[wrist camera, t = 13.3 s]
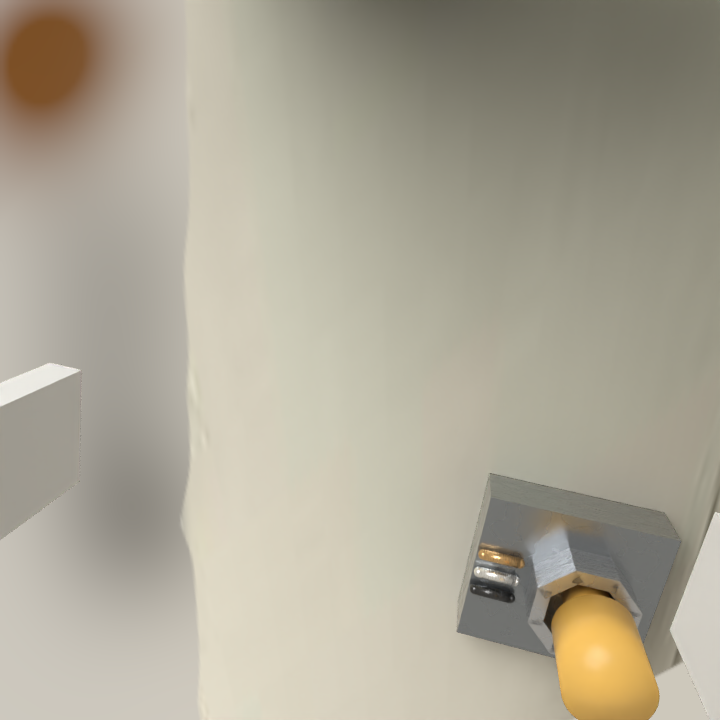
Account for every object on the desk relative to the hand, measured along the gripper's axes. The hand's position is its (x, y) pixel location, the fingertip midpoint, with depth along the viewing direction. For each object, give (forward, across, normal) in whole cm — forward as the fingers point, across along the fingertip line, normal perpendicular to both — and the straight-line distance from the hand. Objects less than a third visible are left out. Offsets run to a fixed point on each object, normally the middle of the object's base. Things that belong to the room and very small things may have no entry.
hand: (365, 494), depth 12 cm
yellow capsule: (+25, +14, -18) cm, 34 cm away
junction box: (+29, +12, -18) cm, 36 cm away
